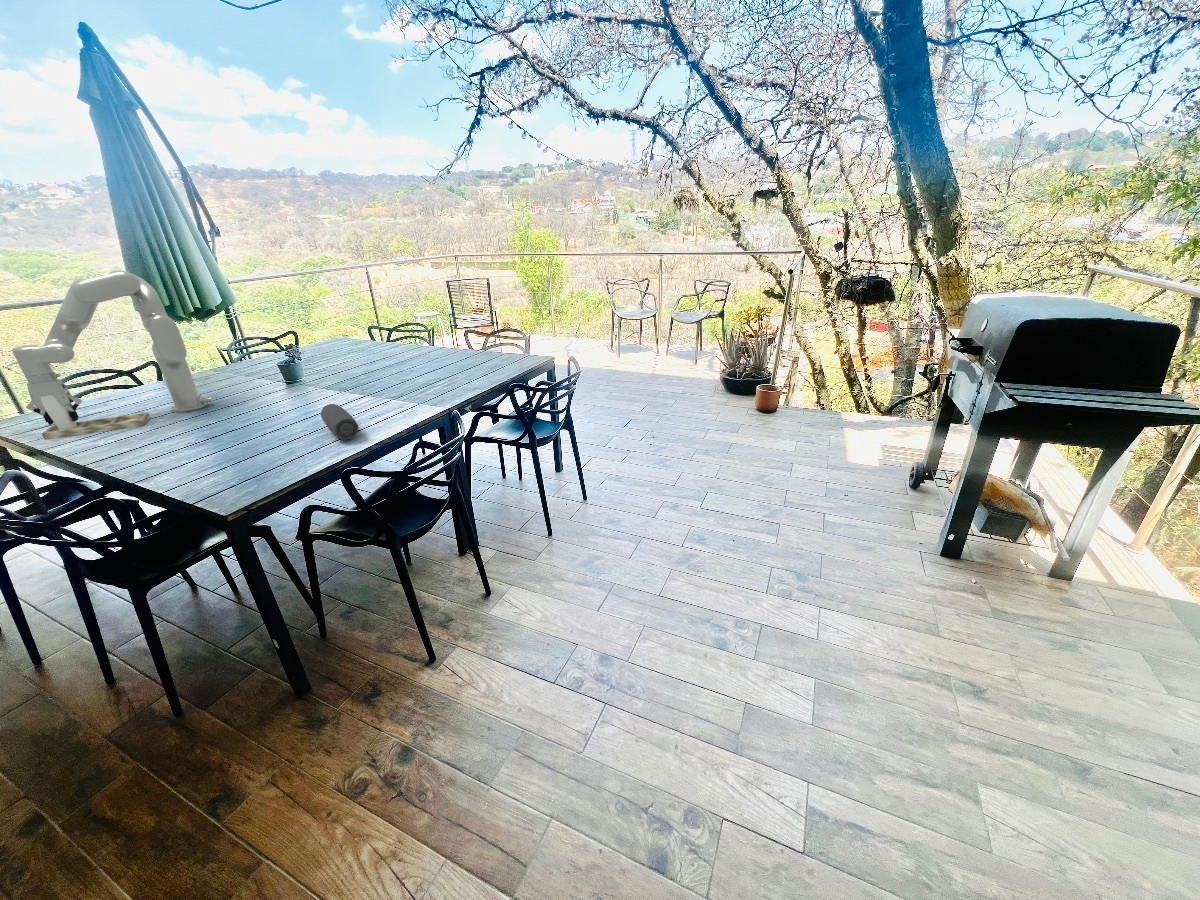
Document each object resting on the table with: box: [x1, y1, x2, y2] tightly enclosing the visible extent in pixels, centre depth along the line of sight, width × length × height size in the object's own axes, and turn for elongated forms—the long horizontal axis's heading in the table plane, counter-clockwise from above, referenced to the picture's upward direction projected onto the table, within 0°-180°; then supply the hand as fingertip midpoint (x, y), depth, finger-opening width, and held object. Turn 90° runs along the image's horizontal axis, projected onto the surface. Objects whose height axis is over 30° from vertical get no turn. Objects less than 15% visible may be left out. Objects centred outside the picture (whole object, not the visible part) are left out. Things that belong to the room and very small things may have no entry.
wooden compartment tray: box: [41, 412, 151, 440], centre depth 195 cm, size 30×11×2 cm, turn 119°
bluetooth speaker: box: [320, 403, 360, 440], centre depth 188 cm, size 23×9×10 cm, turn 40°
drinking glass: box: [40, 395, 78, 431], centre depth 188 cm, size 7×7×15 cm
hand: (63, 421), depth 190 cm, fingers closed on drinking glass, 6 cm apart
